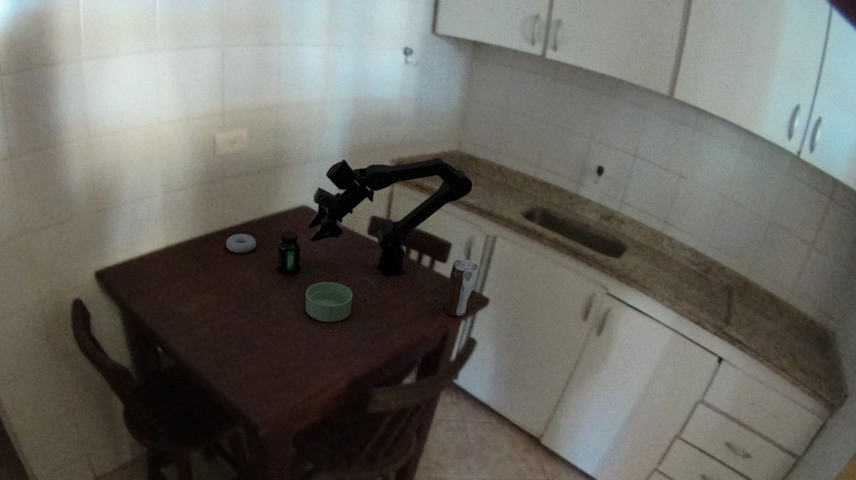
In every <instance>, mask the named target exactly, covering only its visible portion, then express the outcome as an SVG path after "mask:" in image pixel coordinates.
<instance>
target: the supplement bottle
mask: <svg viewBox="0 0 856 480" xmlns="http://www.w3.org/2000/svg"><path fill="white" fill-rule="evenodd" d="M280 239H281V240H280V241H279V242H278V245H277V269H278V271H279V272H280V273H282V274H285V275H294V274H296V273H298V272H299V271H300V268H301V244H300V242H299V240H298V232H295V231H292V230H289V231H288V230H286V231H283V232H282V233H281V238H280Z"/></svg>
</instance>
